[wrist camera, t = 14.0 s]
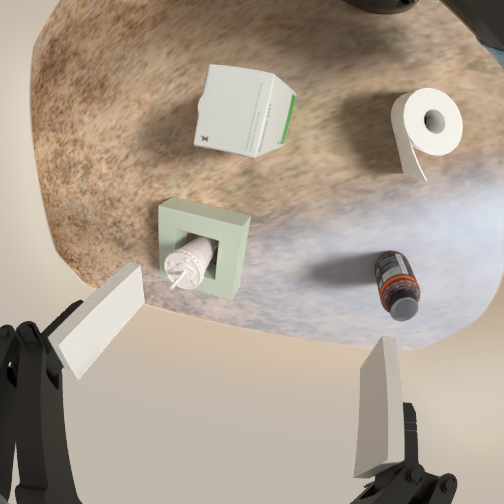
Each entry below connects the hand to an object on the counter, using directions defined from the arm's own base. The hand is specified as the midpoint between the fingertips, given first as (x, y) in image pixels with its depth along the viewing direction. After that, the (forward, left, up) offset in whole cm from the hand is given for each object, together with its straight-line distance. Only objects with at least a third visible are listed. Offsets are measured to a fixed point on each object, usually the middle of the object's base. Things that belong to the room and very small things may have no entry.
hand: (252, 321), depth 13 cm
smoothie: (+14, -14, -29) cm, 35 cm away
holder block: (+14, -14, -29) cm, 35 cm away
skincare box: (-9, -7, -29) cm, 31 cm away
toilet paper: (-12, +13, -29) cm, 34 cm away
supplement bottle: (+9, +17, -29) cm, 35 cm away
